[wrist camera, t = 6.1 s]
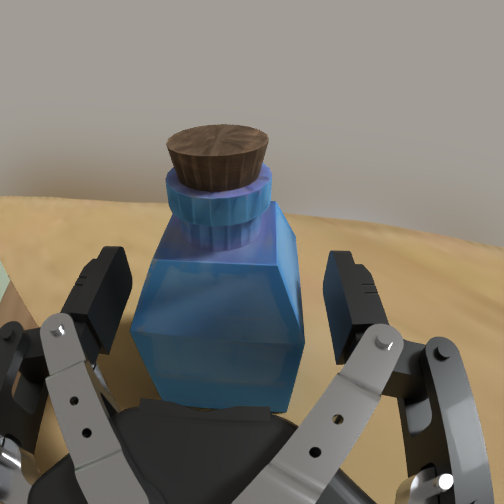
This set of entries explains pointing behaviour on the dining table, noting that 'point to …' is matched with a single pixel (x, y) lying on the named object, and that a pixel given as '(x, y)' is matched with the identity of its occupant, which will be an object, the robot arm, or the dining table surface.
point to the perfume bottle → (222, 279)
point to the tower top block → (3, 280)
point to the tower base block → (15, 315)
